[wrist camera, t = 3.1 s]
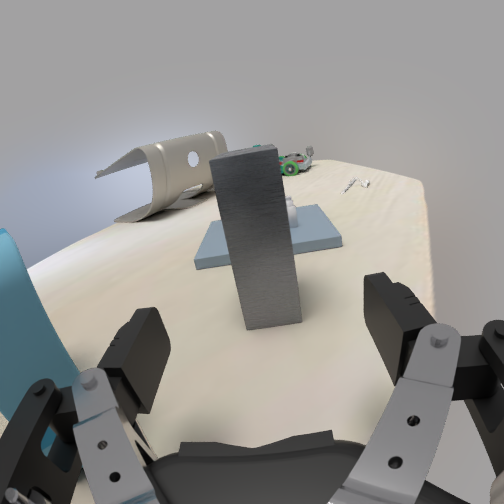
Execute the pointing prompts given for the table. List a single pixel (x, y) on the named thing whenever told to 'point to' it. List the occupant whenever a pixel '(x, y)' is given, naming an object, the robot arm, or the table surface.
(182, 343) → the table surface
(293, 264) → the dark grey rectangular block
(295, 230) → the pin tray
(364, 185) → the picture light
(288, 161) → the robot kit
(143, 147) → the curved metal cover
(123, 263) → the table surface
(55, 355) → the data package
